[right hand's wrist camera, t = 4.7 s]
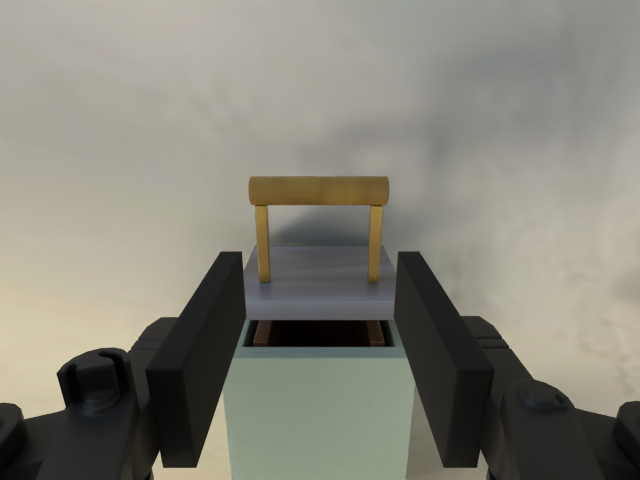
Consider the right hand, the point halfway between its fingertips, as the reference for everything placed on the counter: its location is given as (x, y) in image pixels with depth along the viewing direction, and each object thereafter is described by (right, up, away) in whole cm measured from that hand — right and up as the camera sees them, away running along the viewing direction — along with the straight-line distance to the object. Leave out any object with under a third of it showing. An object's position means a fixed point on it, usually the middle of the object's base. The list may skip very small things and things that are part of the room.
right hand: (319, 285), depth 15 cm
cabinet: (0, -11, +19) cm, 22 cm away
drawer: (0, -5, +15) cm, 16 cm away
